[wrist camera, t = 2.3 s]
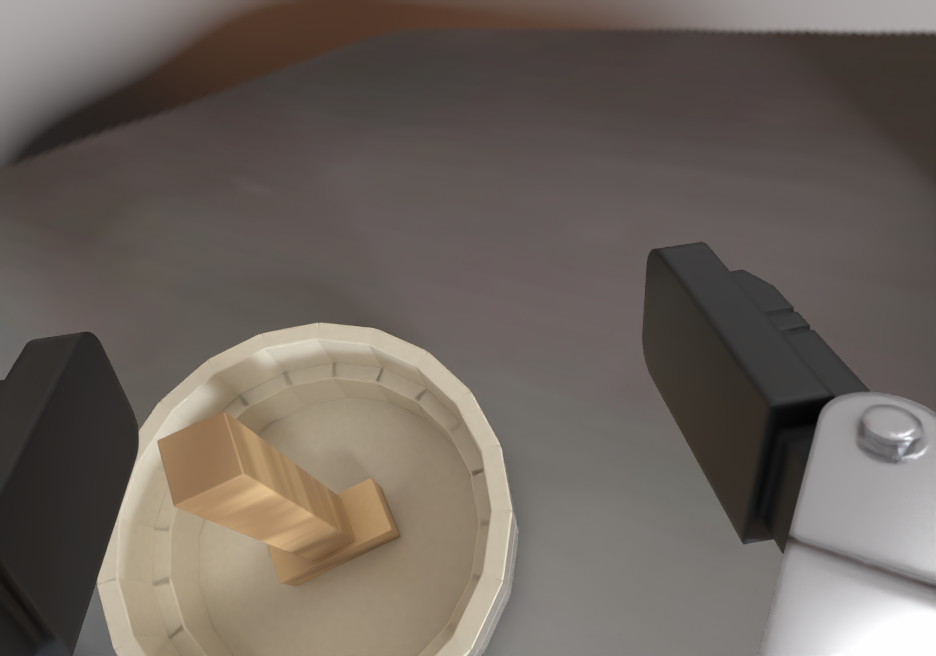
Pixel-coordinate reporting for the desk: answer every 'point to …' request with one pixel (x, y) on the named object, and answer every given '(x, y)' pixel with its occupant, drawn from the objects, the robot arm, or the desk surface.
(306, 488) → the wooden t-shaped block
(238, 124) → the desk surface
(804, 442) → the robot arm
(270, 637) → the bowl
